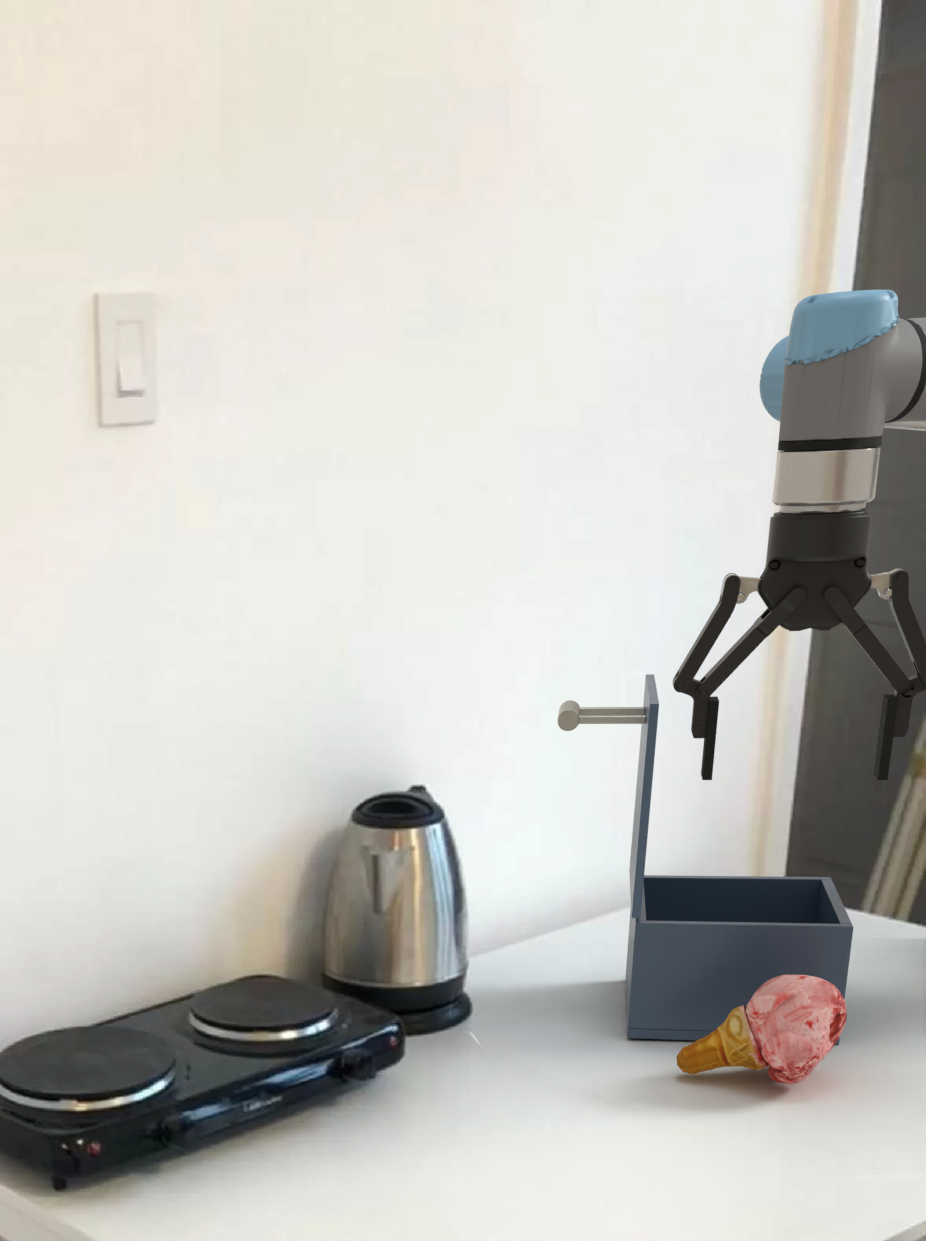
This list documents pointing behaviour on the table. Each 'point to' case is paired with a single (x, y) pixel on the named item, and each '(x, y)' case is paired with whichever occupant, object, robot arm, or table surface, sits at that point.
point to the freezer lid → (648, 718)
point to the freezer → (726, 947)
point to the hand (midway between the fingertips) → (792, 777)
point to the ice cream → (774, 1031)
